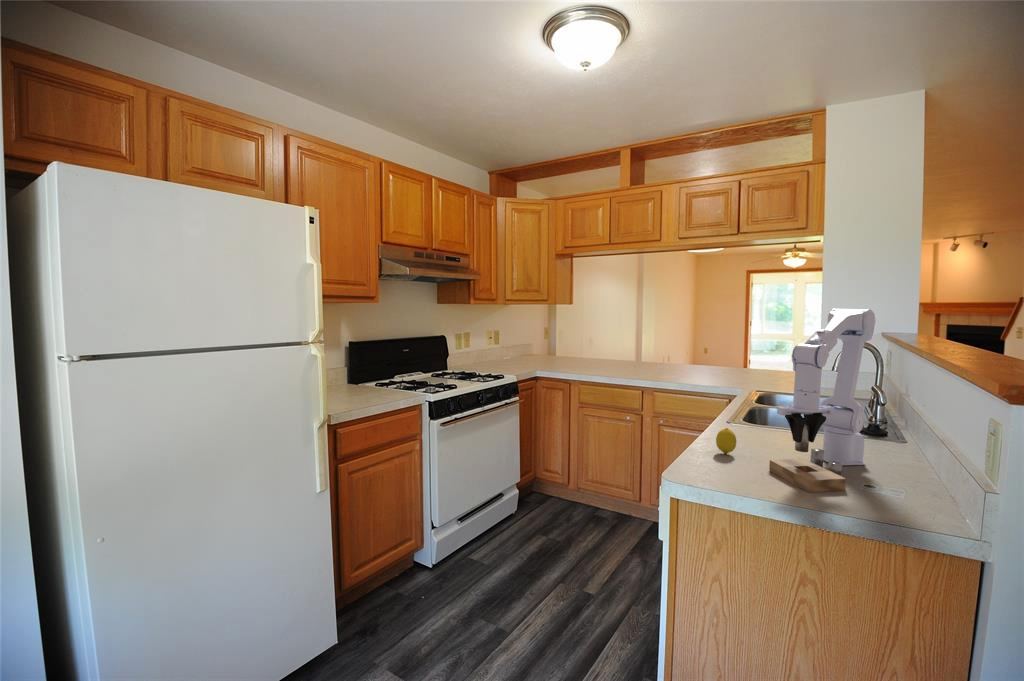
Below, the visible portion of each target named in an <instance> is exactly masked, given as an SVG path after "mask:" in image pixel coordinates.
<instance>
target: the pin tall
mask: <svg viewBox="0 0 1024 681" xmlns="http://www.w3.org/2000/svg"><path fill="white" fill-rule="evenodd" d="M809 429H810V425H809V424H805V425H804V428H803V434H802V441H801V443H798V442H795V441H794V443H795V444H794V450H795V451H796V452H800V453H808V452H809V445H810V442H809Z"/></svg>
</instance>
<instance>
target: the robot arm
mask: <svg viewBox="0 0 1024 681" xmlns="http://www.w3.org/2000/svg"><path fill="white" fill-rule="evenodd" d="M875 314H876V313H875V312H874V311H873V310H872V309H871V308H867V309H857V308H838V307H837V308H836V307H835V308H834V307H833V308H832V309H831V310H830V311H829V312H828V315H827V323H826V325H825V327H824V328H822V329H819V328H818V329H817V330H816V331H814V333H813V334H812V335H811V336H810V337H809V338H808V339H807V340H806V341H805V342H804V343H799V344H798V345H797V344H796V345H795V346H794V347H793V350H792V351H791V352H792V353H791V362H792V370H793V372H794V374H795V375H794V384H793V385H794V386H793V398H792V399H793V400H792V401H793V402H792V403H791V404H790V405H788V404H787V405H781V406H779V405H778V406H777V409H776V414H777V415H780V416H784V418H785V419H786V421H787V424H788V426H789V428H790V432H791V436H792V441H794V443H795V442H798V443H801V441H802V434H803V428H804V425H805V424H809V425H810V429H809V443H815V439H816V437H817V435H818V432H819V430H820V428H821V429H822V430H823V439H822V440H823V442H822V443H823V444H822V450H824V460H823V462H826V463H828V461H835V462H839V463H841V464H842V467H843V466H862V465H863V466H864V465H866V462H864V451H865V439H864V437H863V434H862V433H860V432H861V431H862V430H863V426H864V425H865V424H864V422H865V417H864V415H865V414H864V413H865V408H864V407H863V406H862V405H861V403H860V402H858V401H857V400H856V399H855V393H856V388H857V383H858V378H859V372H860V366H861V363H862V355H863V351H864V348H865V345H866V344H865V343H866V342H868V341H871V340H872V339H873V336H874V331H875V326H876V315H875ZM838 340H841V341H842V347H841V352H840V358H839V364H838V369H837V373H836V379H835V384H834V389H833V394H832V395H831V396H829V397H827V398H825V399H823V400H822V402H821V403H820V400H821V399H820V398H821V383H822V371H823V368H824V367H825V366H826V364H827V360H828V359H829V356H830V352H831V351H832V350H833V349H834V348H835V347H836V346H837V344H838Z"/></svg>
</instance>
